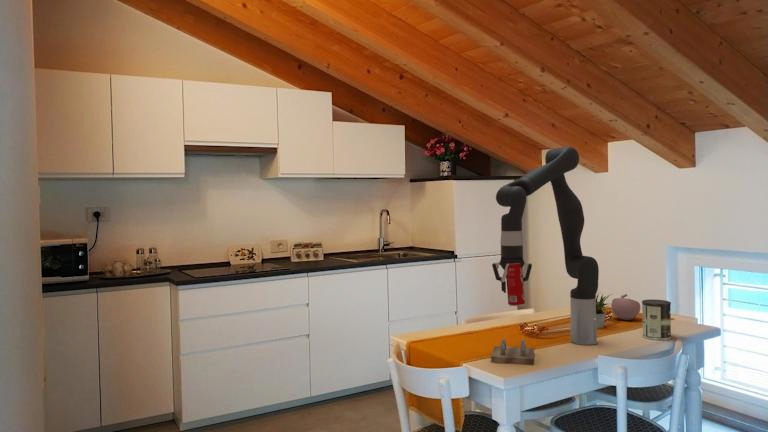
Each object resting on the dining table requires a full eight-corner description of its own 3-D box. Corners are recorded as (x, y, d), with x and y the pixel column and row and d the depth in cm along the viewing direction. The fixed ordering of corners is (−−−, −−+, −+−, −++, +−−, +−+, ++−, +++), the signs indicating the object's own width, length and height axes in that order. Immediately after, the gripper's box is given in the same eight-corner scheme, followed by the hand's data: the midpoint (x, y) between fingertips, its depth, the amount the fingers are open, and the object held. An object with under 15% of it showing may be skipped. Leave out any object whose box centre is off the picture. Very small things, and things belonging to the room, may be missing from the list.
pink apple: (642, 318, 257) (642, 293, 257) (638, 323, 247) (638, 297, 247) (614, 316, 264) (613, 291, 263) (609, 321, 254) (608, 295, 253)
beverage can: (525, 307, 195) (524, 263, 194) (505, 306, 196) (505, 263, 195) (524, 303, 200) (524, 261, 200) (505, 303, 202) (505, 261, 201)
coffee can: (666, 334, 227) (666, 299, 227) (674, 340, 217) (674, 304, 217) (639, 333, 230) (639, 299, 229) (645, 340, 219) (645, 303, 219)
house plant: (570, 327, 243) (569, 289, 243) (585, 321, 253) (584, 285, 253) (602, 332, 233) (602, 292, 233) (617, 326, 243) (616, 288, 242)
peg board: (534, 353, 203) (534, 338, 203) (533, 364, 190) (533, 348, 190) (494, 351, 207) (494, 336, 207) (491, 362, 194) (491, 346, 194)
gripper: (533, 243, 199) (533, 291, 200) (491, 243, 203) (492, 290, 204) (532, 244, 192) (533, 295, 192) (489, 244, 196) (490, 294, 196)
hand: (512, 292), depth 198 cm, fingers closed on beverage can, 4 cm apart
